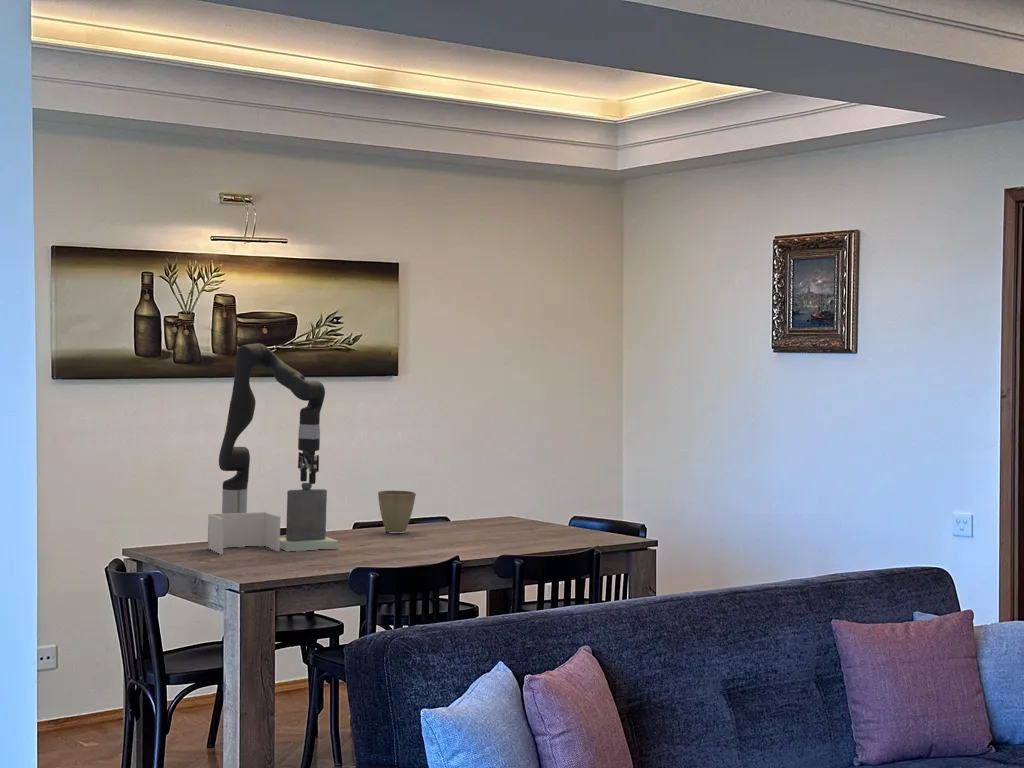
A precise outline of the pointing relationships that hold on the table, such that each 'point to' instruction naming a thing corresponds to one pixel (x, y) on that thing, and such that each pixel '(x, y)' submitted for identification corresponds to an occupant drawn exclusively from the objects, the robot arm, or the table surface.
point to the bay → (243, 530)
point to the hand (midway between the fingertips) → (307, 482)
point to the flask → (306, 514)
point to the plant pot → (396, 509)
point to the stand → (308, 544)
